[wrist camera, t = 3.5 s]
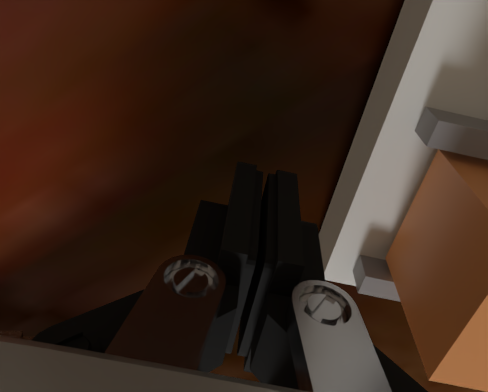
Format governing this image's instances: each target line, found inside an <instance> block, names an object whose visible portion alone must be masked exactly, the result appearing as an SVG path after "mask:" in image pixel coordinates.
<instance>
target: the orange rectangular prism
mask: <svg viewBox="0 0 488 392" xmlns="http://www.w3.org/2000/svg"><path fill="white" fill-rule="evenodd" d="M385 258H386V261H387V264H388V267H389V270H390V273H391V275H392V278H393V281H394V284H395V287H396V290H397V292H398V295H399V298H400V301H401V304H402V307H403V309H404V312H405V315H406V318H407V321H408V323H409V326H410V329H411V332H412V335H413V338H414V340H415V343H416V346H417V349H418V352H419V355H420V357H421V360H422V363H423V366H424V369H425V372H426V374H427V377H428V380H430V381H435V382H440V383H446V384H451V385H456V386H461V387H466V388H471V389H476V390H481V391H486V392H488V160H485V159H481V158H476V157H472V156H467V155H463V154H458V153H454V152H449V151H445V150H440V149H438V151H437V153H436V155H435V157H434V159H433V161H432V163H431V165H430V167H429V169H428V171H427V173H426V175H425V177H424V179H423V181H422V184H421V186H420V188H419V190H418V192H417V194H416V196H415V198H414V200H413V202H412V204H411V206H410V208H409V210H408V212H407V214H406V216H405V218H404V220H403V223H402V225H401V227H400V229H399V231H398V233H397V235H396V237H395V239H394V241H393V243H392V245H391V247H390V249H389V251H388V253H387V255H386V257H385Z"/></svg>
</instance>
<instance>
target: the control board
mask: <svg viewBox="0 0 488 392" xmlns="http://www.w3.org/2000/svg"><path fill="white" fill-rule="evenodd" d="M438 149H440V150H445V151H449V152H454V153H458V154H463V155H467V156H472V157H476V158H481V159H485V160H488V0H405V1H404V3H403V6H402V9H401V12H400V14H399V17H398V20H397V23H396V25H395V28H394V31H393V33H392V36H391V39H390V42H389V44H388V47H387V50H386V53H385V55H384V58H383V61H382V63H381V66H380V69H379V72H378V74H377V77H376V80H375V83H374V85H373V88H372V91H371V93H370V96H369V99H368V102H367V104H366V107H365V110H364V113H363V115H362V118H361V121H360V123H359V126H358V129H357V132H356V134H355V137H354V140H353V143H352V145H351V148H350V151H349V153H348V156H347V159H346V162H345V164H344V167H343V170H342V172H341V175H340V178H339V181H338V183H337V186H336V189H335V192H334V194H333V197H332V200H331V202H330V205H329V208H328V211H327V213H326V216H325V219H324V222H323V224H322V227H321V230H320V232H319V241H320V248H321V254H322V261H323V268H324V275H325V280H329V281H334V282H338V283H343V284H348V285H353V286H356V287H357V292H358V293H361V294H366V295H370V296H375V297H380V298H385V299H390V300H395V301H400V298H399V295H398V292H397V290H396V287H395V284H394V281H393V278H392V275H391V273H390V270H389V267H388V264H387V261H386V258H385V257H386V255H387V253H388V251H389V249H390V247H391V245H392V243H393V241H394V239H395V237H396V235H397V233H398V231H399V229H400V227H401V225H402V223H403V220H404V218H405V216H406V214H407V212H408V210H409V208H410V206H411V204H412V202H413V200H414V198H415V196H416V194H417V192H418V190H419V188H420V186H421V184H422V181H423V179H424V177H425V175H426V173H427V171H428V169H429V167H430V165H431V163H432V161H433V159H434V157H435V155H436V153H437V151H438ZM400 302H401V301H400Z"/></svg>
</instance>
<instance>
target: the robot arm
mask: <svg viewBox="0 0 488 392" xmlns="http://www.w3.org/2000/svg"><path fill="white" fill-rule="evenodd" d="M256 167H257V165H252V164H247V163H243V162H237V167H236V171H235V176H234V181H233V185H232V190H231V195H230V199H229V204H228V206H227V205H223V204H218V203H213V202H208V201H203V200H201V202H200V205H199V208H198V211H197V214H196V217H195V221H194V224H193V227H192V230H191V234H190V237H189V240H188V243H187V246H186V250H185V253H184V255H179V256H175V257H171V258H170V259H168V260H166V261H164V262H163V263H162V264H161V265H160V266H159V267H158V269H157V271H156V272H155V274H154V275H153V277H152V279H151V280H150V282H149V283H148V285H147V286H146V288H145V289H144V290H142V291H139V292H137V293H134V294H132V295H129V296H126V297H124V298H121V299H119V300H116V301H114V302H111V303H109V304H106V305H104V306H101V307H99V308H96V309H94V310H91V311H89V312H86V313H84V314H81V315H79V316H76V317H74V318H71V319H69V320H66V321H64V322H61V323H59V324H56V325H53V326H51V327H49V328H47V329H45V330H44V331H42V332H40V333H39V334H37V335H36V336H35V337H23V331H0V392H428V391H426V390H425V389H424V388H423V387H422V386H421V385H420V384H418V383H417V382H416V381H415V380H414V379H413V378H411V377H410V376H409V375H408V374H407V373H406V372H404V371H403V370H402V369H401V368H400V367H399V366H397V365H396V364H395V363H394V362H393V361H392V360H390V359H389V358H388V357H387V356H386V355H385V354H384V353H382V352H381V351H380V350H379V349H378V348H377V347H375V346H374V345H373V344H372V341H371V339H370V337H369V334H368V332H367V329H366V327H365V324H364V322H363V319H362V317H361V315H360V312H359V310H358V307H357V305H356V304H355V302H354V300H353V299H352V298H351V297H350V296H349V295H348V294H347V293H346V292H345V291H343V290H342V289H340V288H339V287H337V286H335V285H333V284H331V283H328V282H325V275H324V268H323V261H322V254H321V248H320V241H319V234H318V228H317V225H316V224H314V223H309V222H304V221H301V217H300V205H299V194H298V182H297V174H294V173H290V172H285V171H280V170H277V171H276V174H275V175H274V174H270V173H269V174H268V177H267V181H266V184H265V188H264V192H263V196H262V182H263V172H260V171H256ZM261 197H262V200H261ZM240 319H241V320H240ZM239 322H240V330H239V340H238V350H237V355H240V356H245V361H244V371H247V372H252V373H253V374H254V375H255V376H256V377H257V379H258V380H259V381H260V382H255V381H249V380H244V379H239V378H234V377H228V376H223V375H218V374H213V373H208V372H210V371H212V370H213V369H215V368H217V367H218V366H220V365H222V362H223V359H224V355H225V353H231V351H232V347H233V344H234V340H235V337H236V333H237V330H238V326H239Z"/></svg>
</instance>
